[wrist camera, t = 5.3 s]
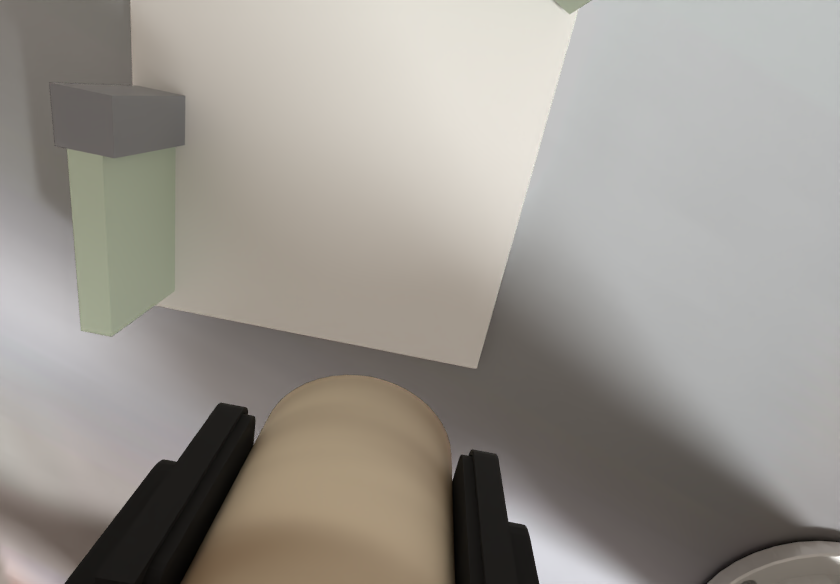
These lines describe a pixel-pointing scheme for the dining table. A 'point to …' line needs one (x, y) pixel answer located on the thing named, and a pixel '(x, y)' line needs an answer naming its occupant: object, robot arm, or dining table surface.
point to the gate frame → (313, 165)
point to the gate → (571, 4)
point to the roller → (338, 493)
